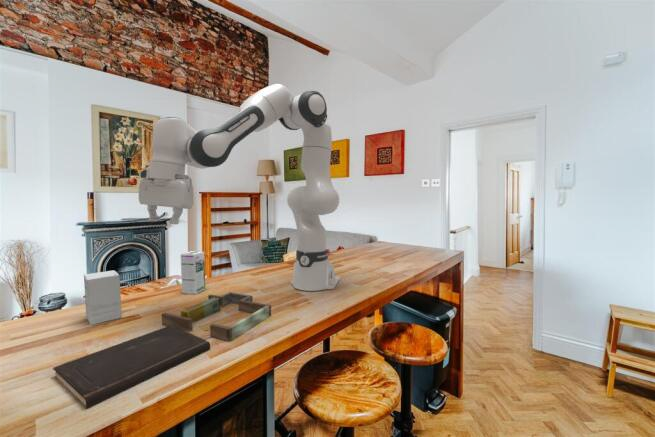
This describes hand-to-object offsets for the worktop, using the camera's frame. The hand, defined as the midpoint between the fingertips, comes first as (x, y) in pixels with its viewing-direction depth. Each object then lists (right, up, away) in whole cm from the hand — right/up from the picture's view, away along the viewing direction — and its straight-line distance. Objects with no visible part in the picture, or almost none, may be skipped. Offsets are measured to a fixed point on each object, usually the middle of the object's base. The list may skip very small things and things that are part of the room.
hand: (163, 222), depth 85 cm
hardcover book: (+7, -30, -23) cm, 38 cm away
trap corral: (+17, -27, 0) cm, 32 cm away
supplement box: (-16, -27, -1) cm, 32 cm away
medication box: (+11, -28, +1) cm, 30 cm away
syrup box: (-2, -26, +23) cm, 35 cm away
